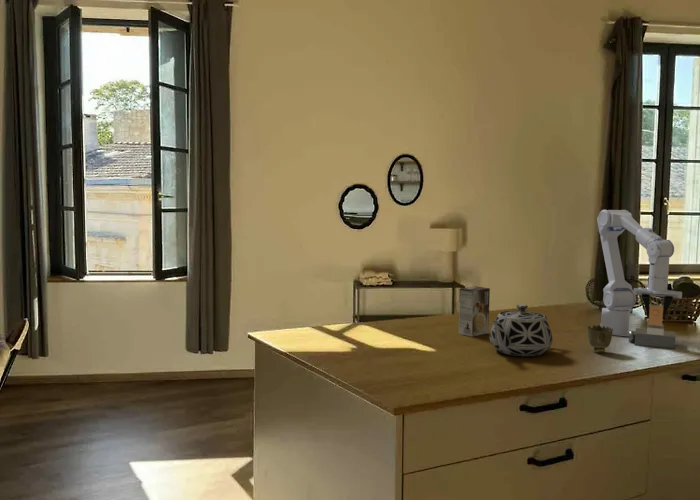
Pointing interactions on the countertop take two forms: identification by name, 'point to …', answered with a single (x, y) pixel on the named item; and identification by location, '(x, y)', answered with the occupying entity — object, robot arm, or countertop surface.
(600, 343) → the cup
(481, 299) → the coffee box
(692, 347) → the countertop surface
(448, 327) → the countertop surface
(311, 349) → the countertop surface
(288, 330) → the countertop surface
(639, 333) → the grey plate with rails
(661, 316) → the tan single stud brick
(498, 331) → the patterned lidded jar
